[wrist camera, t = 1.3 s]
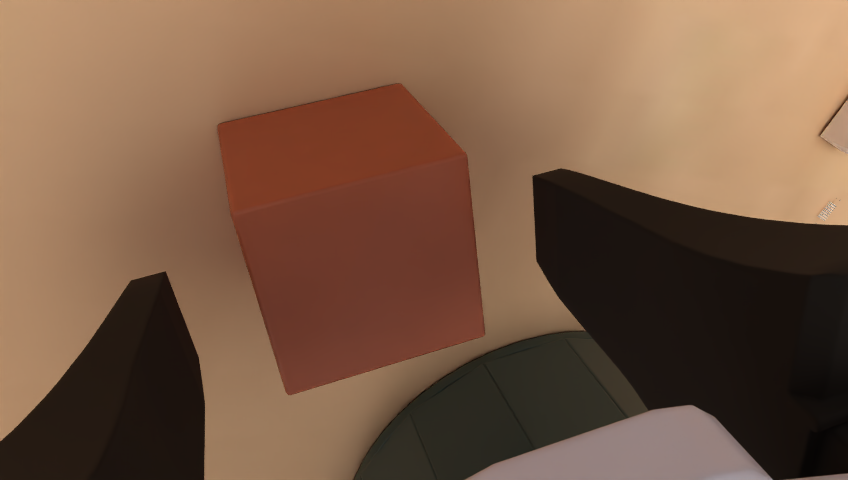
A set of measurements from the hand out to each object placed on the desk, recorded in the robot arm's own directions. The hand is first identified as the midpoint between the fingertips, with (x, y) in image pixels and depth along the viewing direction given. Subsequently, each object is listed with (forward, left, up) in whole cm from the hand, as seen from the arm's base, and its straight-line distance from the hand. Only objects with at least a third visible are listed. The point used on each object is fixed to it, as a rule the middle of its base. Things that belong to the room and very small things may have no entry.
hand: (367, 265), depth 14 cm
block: (0, 0, -4) cm, 4 cm away
